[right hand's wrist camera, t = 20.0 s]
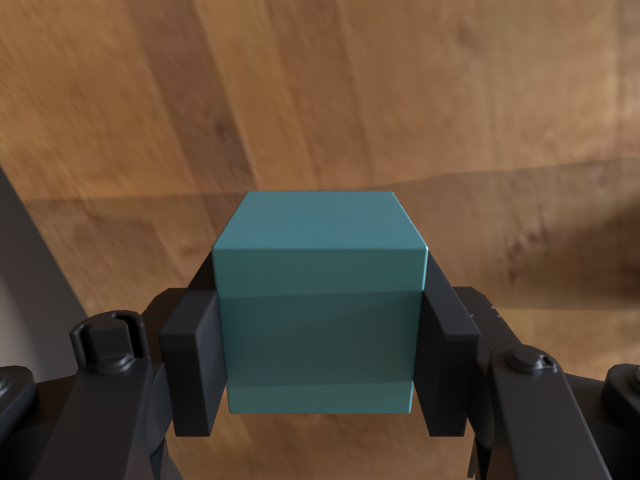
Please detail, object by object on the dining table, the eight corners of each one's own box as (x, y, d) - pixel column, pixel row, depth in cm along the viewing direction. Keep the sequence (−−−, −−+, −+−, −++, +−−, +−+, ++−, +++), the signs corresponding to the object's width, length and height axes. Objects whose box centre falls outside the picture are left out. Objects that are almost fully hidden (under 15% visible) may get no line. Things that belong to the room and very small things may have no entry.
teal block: (392, 190, 14) (429, 247, 9) (383, 315, 16) (411, 415, 11) (246, 190, 14) (209, 246, 9) (255, 315, 16) (228, 415, 11)
